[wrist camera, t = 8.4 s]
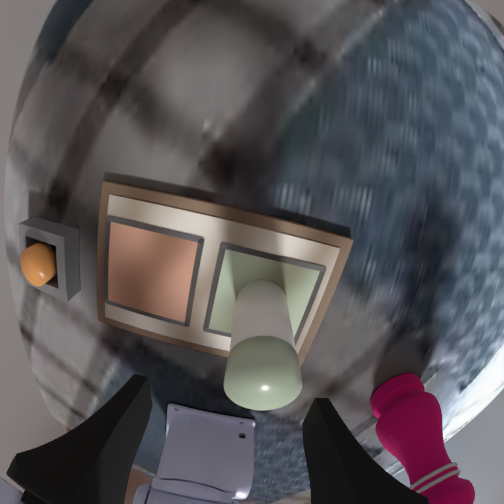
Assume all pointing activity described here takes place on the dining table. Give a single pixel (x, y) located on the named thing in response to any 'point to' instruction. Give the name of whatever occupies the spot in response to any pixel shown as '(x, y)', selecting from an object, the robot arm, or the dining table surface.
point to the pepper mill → (418, 439)
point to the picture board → (206, 267)
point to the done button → (39, 263)
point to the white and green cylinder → (262, 350)
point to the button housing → (66, 254)
